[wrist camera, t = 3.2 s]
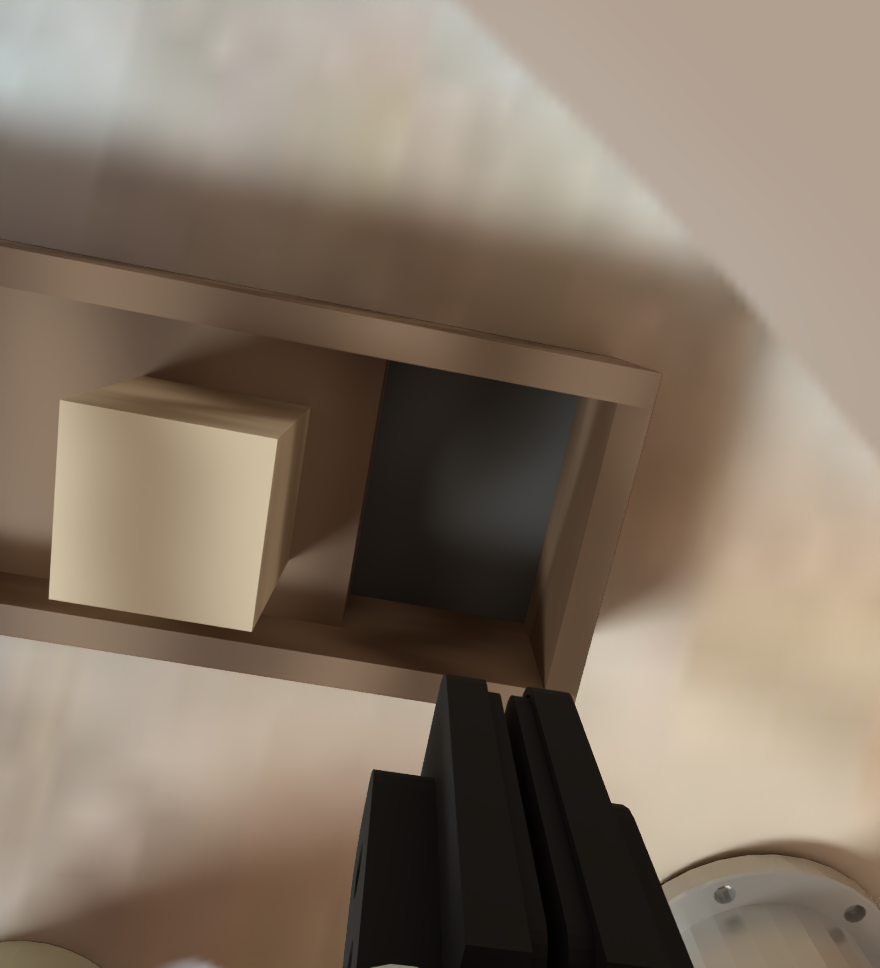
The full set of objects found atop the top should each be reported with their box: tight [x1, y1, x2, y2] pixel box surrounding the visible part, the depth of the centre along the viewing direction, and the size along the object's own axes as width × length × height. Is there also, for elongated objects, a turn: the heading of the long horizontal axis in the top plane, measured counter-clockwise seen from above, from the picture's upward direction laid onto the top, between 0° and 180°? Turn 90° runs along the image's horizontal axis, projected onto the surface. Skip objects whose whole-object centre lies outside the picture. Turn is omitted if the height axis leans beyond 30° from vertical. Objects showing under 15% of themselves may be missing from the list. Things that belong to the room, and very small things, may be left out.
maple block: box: [49, 376, 311, 632], centre depth 20 cm, size 5×5×5 cm
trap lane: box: [0, 239, 662, 714], centre depth 22 cm, size 36×11×5 cm, turn 79°
